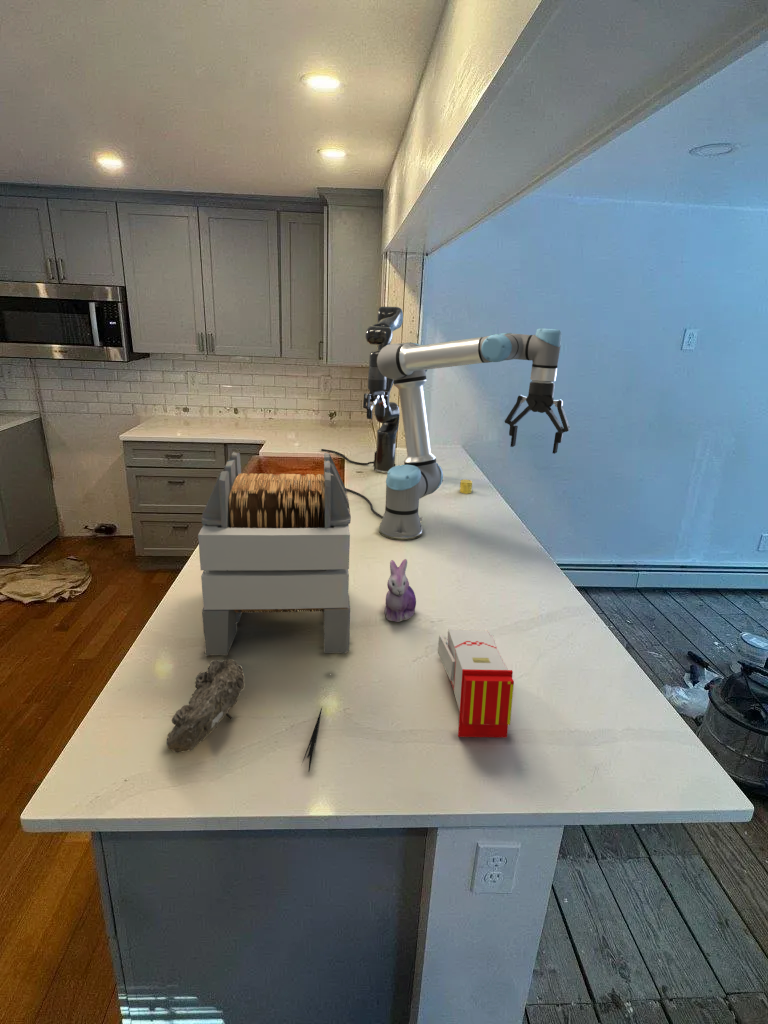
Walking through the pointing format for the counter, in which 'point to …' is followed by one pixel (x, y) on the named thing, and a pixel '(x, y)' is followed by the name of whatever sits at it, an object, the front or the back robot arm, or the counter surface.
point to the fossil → (206, 705)
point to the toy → (478, 682)
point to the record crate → (275, 551)
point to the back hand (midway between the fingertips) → (375, 417)
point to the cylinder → (466, 486)
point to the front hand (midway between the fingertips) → (533, 449)
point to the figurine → (399, 594)
